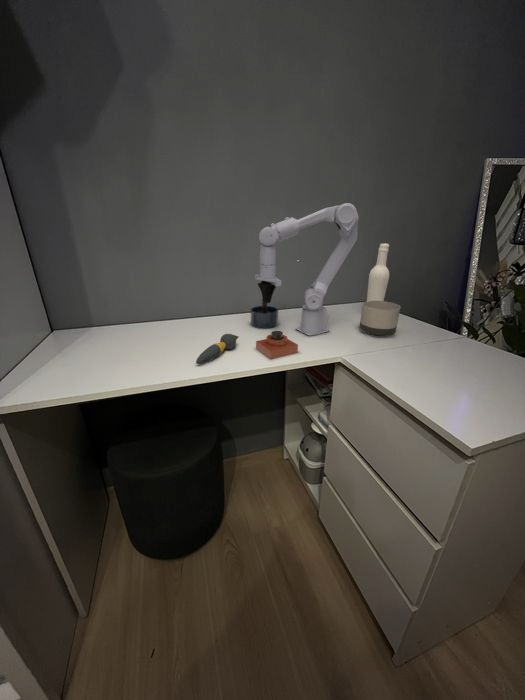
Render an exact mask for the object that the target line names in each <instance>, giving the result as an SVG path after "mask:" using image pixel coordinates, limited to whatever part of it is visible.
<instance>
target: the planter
mask: <svg viewBox="0 0 525 700" xmlns="http://www.w3.org/2000/svg"><path fill="white" fill-rule="evenodd" d="M400 313H401V305H399V304H397V303H395V302H392V301H391V302H390V301H386V300H384V301H367V300H366V301H364V302H362V307H361V313H360V314H361V315H360V318H359V325H358V328H359V329H360V330H361V331H362V332H364V333H365V334H367V335H371V336H375V337H387V336H392V335H394V334H395V333H396V332H397V327H398V323H399V318H400Z"/></svg>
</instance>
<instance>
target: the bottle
mask: <svg viewBox="0 0 525 700" xmlns="http://www.w3.org/2000/svg"><path fill="white" fill-rule="evenodd" d="M389 247H390V244H389V243H380V244H379V248H378V250H377V251H378V252H377V259H376V264H375V265H374V266H373V267H372V268H371V270H370V272H369V274H368V282H367V295H366V301H385V297H386V293H387V288H388V285H389V280H390V271H389V268H388V267H387V261H388V260H387V259H388V253H389V250H390V249H389Z"/></svg>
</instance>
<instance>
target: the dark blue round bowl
mask: <svg viewBox="0 0 525 700" xmlns="http://www.w3.org/2000/svg"><path fill="white" fill-rule="evenodd" d="M259 311H262V305H258V306H254V307H251V308H250V326H251V327H253V328H256V329H261V330H262V329H265V330H266V329H267V330H268V329H274V328H276V327H277V326H278V325H279V309H278V307H275V306H272V305H271V306H270V305H267V311H269V312H271V313H258V312H259Z"/></svg>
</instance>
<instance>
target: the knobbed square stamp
mask: <svg viewBox="0 0 525 700" xmlns="http://www.w3.org/2000/svg"><path fill="white" fill-rule="evenodd" d="M255 349H256V350H257V351H258V352H260V353H261V354H262V355H264V356H265V357H266V358H268V359H270V360H272V359H273V360H274V359H278V358H281V357H286V356H289V355H293V354H297V353H298V352H299V344H297V343H296V342H294V341H292V340H291V339H289V338H288V336H287V335H285V334H283V339H282V340H273V339H271V334H268V335H266V338H265V339H259V340H256V341H255Z"/></svg>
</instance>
